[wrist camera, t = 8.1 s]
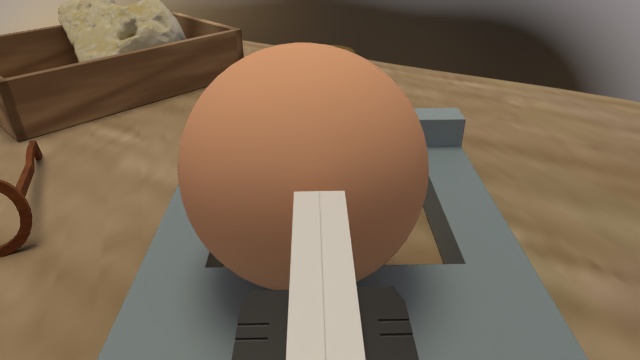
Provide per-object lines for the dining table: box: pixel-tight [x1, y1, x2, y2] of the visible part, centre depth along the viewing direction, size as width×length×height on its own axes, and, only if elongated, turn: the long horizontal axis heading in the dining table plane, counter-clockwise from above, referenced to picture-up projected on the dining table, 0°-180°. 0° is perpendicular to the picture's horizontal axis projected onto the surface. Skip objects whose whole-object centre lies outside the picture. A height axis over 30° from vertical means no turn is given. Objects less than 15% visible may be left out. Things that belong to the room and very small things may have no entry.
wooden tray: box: [0, 11, 244, 142], centre depth 50 cm, size 16×23×5 cm
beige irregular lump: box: [58, 0, 186, 62], centre depth 52 cm, size 15×7×15 cm
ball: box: [178, 43, 429, 290], centre depth 20 cm, size 10×10×10 cm
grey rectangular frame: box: [97, 108, 588, 360], centre depth 22 cm, size 30×18×4 cm, turn 1°
